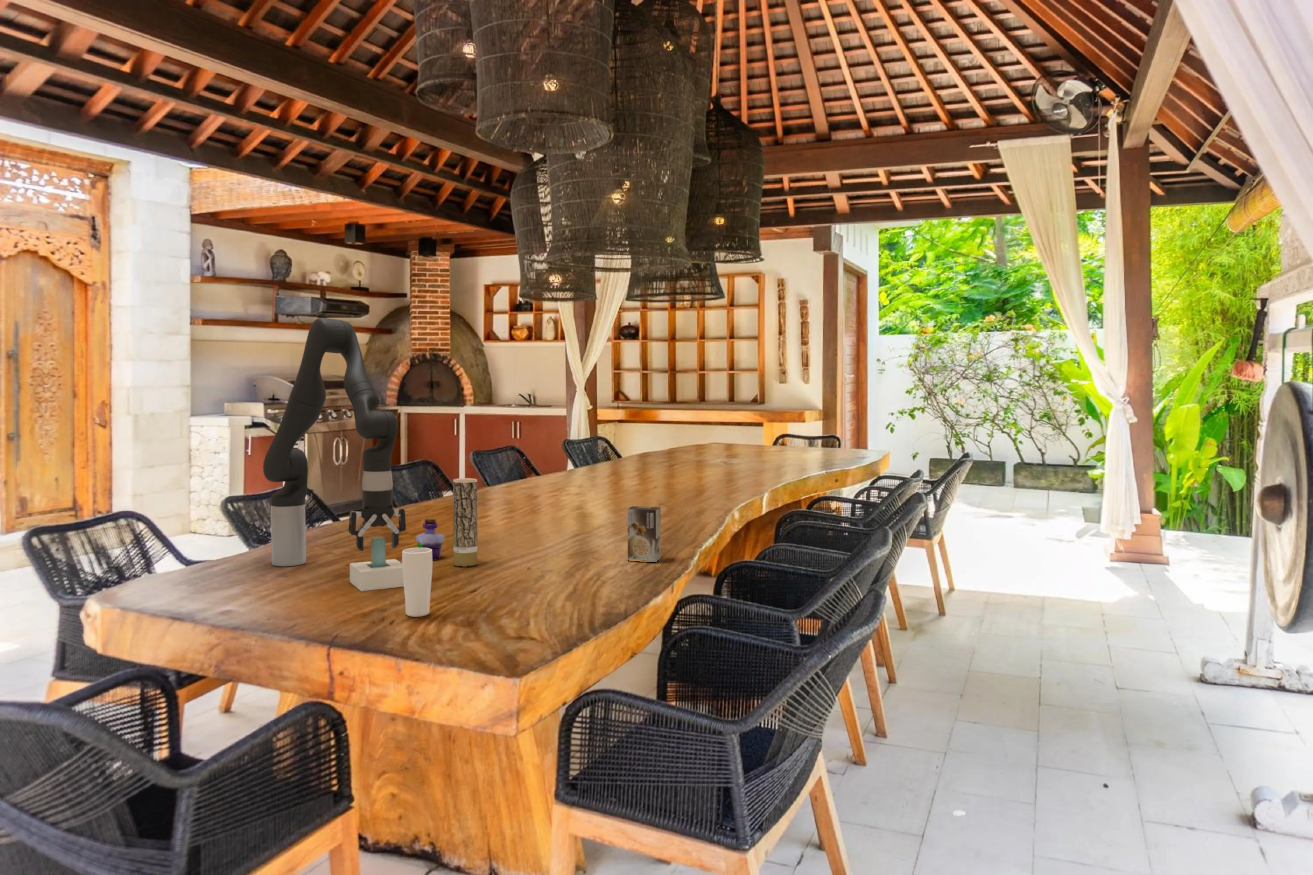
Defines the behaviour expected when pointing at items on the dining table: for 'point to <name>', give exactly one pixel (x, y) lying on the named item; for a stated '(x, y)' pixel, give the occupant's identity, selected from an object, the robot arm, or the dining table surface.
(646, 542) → the coffee box
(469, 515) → the paper tube
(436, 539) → the potion bottle
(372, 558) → the peg
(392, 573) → the socket block
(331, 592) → the dining table surface
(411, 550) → the drinking glass
